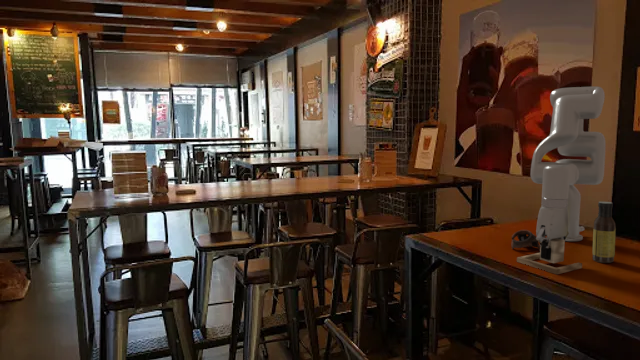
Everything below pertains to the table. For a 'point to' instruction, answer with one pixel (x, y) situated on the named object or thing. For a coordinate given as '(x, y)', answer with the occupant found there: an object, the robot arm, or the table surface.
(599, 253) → the sauce bottle
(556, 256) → the birch block
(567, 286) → the table surface
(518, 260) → the oak bay
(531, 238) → the broken clay pot rim
